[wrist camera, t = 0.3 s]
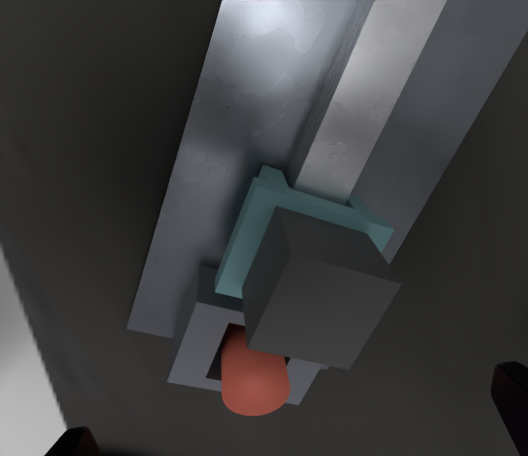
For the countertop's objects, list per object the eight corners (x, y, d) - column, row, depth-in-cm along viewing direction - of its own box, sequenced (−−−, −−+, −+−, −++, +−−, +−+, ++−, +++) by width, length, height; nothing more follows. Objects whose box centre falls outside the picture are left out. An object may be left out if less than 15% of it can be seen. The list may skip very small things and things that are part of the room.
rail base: (695, -290, 14) (811, -364, 11) (323, 357, 26) (335, 397, 23) (387, -565, 11) (444, -758, 8) (129, 316, 23) (118, 356, 20)
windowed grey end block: (674, -362, 12) (803, -468, 9) (289, 362, 24) (298, 405, 21) (486, -539, 10) (580, -730, 8) (172, 338, 22) (166, 381, 20)
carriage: (369, 200, 19) (435, 279, 13) (325, 283, 21) (366, 383, 16) (250, 160, 18) (266, 230, 12) (214, 254, 20) (214, 353, 14)
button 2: (288, 322, 21) (300, 374, 18) (267, 364, 22) (275, 420, 19) (232, 309, 20) (234, 361, 17) (213, 353, 21) (212, 410, 18)
